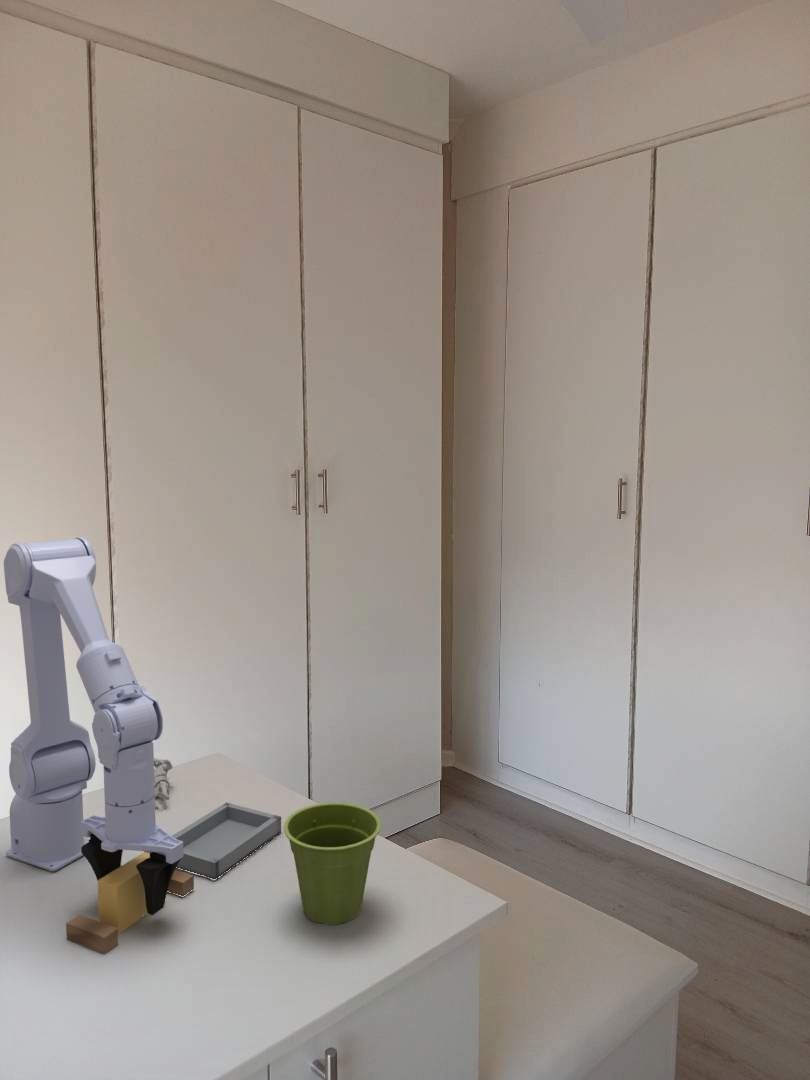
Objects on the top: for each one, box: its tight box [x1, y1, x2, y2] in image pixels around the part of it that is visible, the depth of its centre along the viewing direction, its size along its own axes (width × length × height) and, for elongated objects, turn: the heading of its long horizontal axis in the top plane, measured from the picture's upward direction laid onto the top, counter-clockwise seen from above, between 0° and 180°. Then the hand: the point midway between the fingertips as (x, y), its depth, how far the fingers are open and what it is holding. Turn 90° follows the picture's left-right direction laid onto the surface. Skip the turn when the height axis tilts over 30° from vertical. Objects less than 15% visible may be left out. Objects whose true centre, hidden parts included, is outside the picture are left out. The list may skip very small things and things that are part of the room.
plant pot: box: [283, 801, 382, 925], centre depth 104 cm, size 12×12×11 cm
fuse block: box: [97, 851, 150, 935], centre depth 103 cm, size 3×8×6 cm, turn 154°
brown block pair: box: [65, 869, 195, 955], centre depth 103 cm, size 6×15×2 cm, turn 153°
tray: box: [171, 802, 282, 879], centre depth 120 cm, size 10×15×2 cm, turn 153°
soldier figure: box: [154, 757, 173, 810], centre depth 137 cm, size 8×5×12 cm
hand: (133, 902), depth 103 cm, fingers open, 7 cm apart
